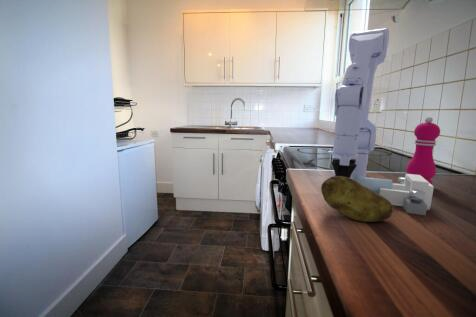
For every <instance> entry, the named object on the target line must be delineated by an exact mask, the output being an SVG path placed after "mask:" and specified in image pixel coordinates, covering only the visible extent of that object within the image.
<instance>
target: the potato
mask: <svg viewBox="0 0 476 317" xmlns="http://www.w3.org/2000/svg"><path fill="white" fill-rule="evenodd" d="M320 190H321V194H322V197H323V200H324V202H326V203H327V205H328V207H330V208H332V209H334V210H336V211H338V212H339V213H341V214H343V215H344V216H345V217H347V218H349V219H351V220H355V221H358V222H365V223H369V222H371V223H377V222H381V221H385V220H388V219H389V218H390V217H391V215H392V213H393V205H392V204H391V203H390V202H389V201H388V200H387V199H386V198H384V197H383V196H381V195H379V194H377V193H375V192H373V191H371V190H369V189H368V188H366V187H364V186H362V185H361V184H359V183H358V182H356V181H355V180H353V179H351V178H348V177H343V176H335V175H334V176H330V177H329V178H327V179H326V180H324V181H323V182H322V183H321V188H320Z"/></svg>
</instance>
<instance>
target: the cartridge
mask: <svg viewBox="0 0 476 317" xmlns="http://www.w3.org/2000/svg"><path fill="white" fill-rule="evenodd" d="M354 180H355V181H356V182H358V183H359V184H361V185H362V186H364V187H366V188H368V189H369V190H371V191H373V192H375V193H377V194H379V192H380V188H386V189H392V183H393V179H387V178H378V177H377V178H376V177H369V176H368V177H367V176H366V177H361V176H355V179H354Z"/></svg>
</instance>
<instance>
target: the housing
mask: <svg viewBox="0 0 476 317" xmlns="http://www.w3.org/2000/svg"><path fill="white" fill-rule="evenodd" d="M404 177H405V181H404V184H397V183H396V182H395V183H393V182H392V189H386V188H380V192H379V195H381V196H383V197H384V198H386V199H387V200H388V201H389V202H390V203H391V204H392V206H397V207H402V208H403V209H404V211H405V213H406V214H413V215H418V216H426V215H427V211H431V205H432V199H433V196H434V195H433V193H434V189H435V187H434V185H433V184H432V185H431V184H430V183H429V182H428V181H427V180H425V179H424V178H423V177H422V176H420V175H414V174H407V173H405V175H404ZM409 190H419V191H423V192H425V197H424V202H418V203H414V202H413V201H412V200H409V199H408V196H409Z"/></svg>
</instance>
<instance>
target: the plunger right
mask: <svg viewBox="0 0 476 317" xmlns="http://www.w3.org/2000/svg"><path fill="white" fill-rule="evenodd" d="M424 197H425V192H423V191H419V190H409V196H408V199H409V200H412V201H413V202H414V203H418V202H424Z"/></svg>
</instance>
